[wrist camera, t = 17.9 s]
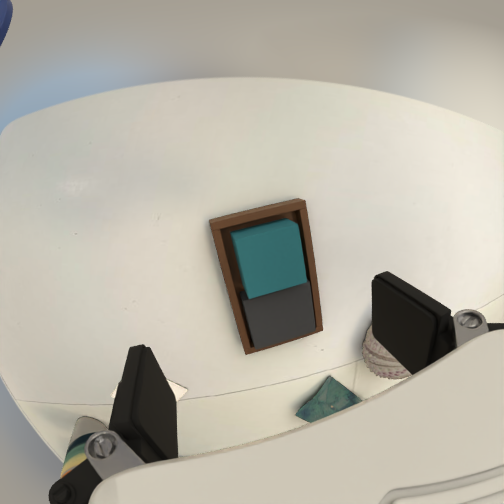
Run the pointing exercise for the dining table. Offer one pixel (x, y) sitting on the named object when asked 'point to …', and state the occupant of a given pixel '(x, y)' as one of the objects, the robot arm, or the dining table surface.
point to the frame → (229, 266)
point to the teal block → (269, 257)
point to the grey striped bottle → (80, 442)
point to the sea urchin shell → (381, 359)
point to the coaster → (175, 388)
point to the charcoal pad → (279, 315)
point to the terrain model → (328, 401)
